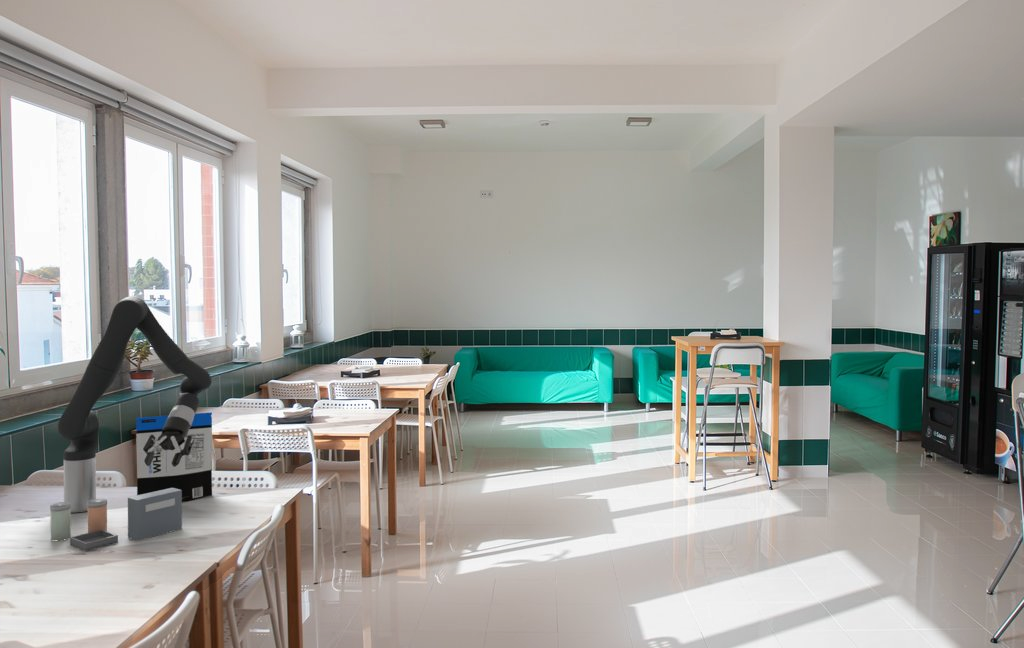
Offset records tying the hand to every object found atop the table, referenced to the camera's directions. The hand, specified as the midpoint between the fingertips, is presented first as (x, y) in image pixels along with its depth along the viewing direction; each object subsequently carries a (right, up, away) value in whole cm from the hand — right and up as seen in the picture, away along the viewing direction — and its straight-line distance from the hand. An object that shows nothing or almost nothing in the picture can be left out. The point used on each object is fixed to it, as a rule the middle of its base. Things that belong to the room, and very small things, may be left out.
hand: (160, 465), depth 228 cm
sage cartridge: (-23, -19, -13) cm, 33 cm away
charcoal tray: (-11, -19, -18) cm, 28 cm away
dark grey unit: (+2, -19, -7) cm, 21 cm away
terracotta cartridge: (-15, -19, -9) cm, 26 cm away
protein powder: (-9, -18, +29) cm, 35 cm away
